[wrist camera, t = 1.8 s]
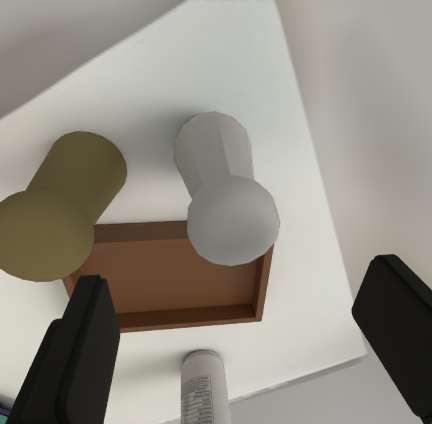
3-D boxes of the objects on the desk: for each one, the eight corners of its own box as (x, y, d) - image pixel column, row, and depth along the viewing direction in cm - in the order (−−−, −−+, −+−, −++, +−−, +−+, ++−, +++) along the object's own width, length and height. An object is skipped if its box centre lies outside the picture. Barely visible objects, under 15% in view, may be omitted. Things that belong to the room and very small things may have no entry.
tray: (268, 216, 28) (276, 233, 25) (256, 302, 34) (261, 321, 32) (60, 226, 26) (48, 245, 23) (91, 314, 33) (84, 336, 30)
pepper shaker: (140, 182, 24) (116, 274, 15) (81, 209, 25) (23, 312, 16) (98, 118, 21) (33, 184, 12) (31, 151, 22) (-78, 237, 13)
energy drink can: (195, 376, 42) (201, 521, 30) (172, 358, 39) (168, 513, 26) (230, 361, 41) (251, 506, 28) (209, 342, 38) (223, 495, 25)
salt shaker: (201, 185, 25) (218, 303, 14) (159, 135, 22) (139, 233, 11) (257, 148, 24) (323, 246, 13) (219, 88, 21) (262, 149, 10)
